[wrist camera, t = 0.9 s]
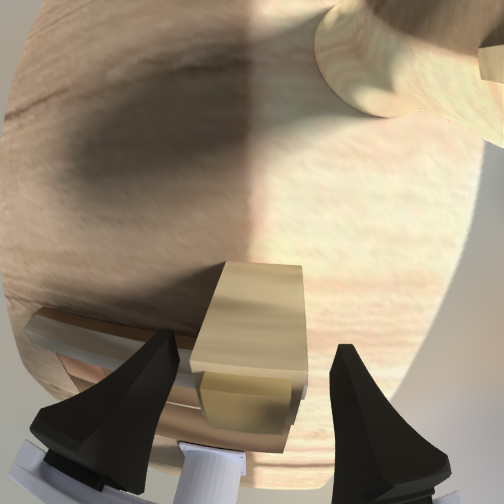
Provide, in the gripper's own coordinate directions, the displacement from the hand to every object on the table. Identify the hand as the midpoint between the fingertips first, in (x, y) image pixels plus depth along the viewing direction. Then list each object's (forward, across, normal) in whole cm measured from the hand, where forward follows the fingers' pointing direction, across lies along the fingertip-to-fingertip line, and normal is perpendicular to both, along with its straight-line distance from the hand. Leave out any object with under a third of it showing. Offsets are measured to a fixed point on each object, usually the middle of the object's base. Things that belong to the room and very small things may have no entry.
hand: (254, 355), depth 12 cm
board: (+5, +8, +12) cm, 15 cm away
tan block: (+5, 0, 0) cm, 5 cm away
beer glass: (+5, -5, -13) cm, 15 cm away
